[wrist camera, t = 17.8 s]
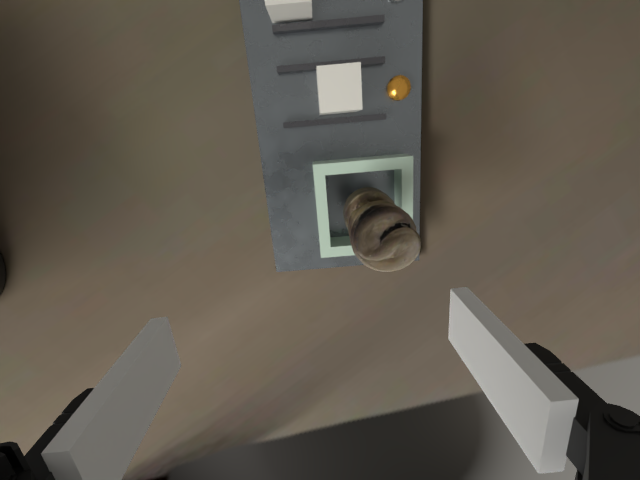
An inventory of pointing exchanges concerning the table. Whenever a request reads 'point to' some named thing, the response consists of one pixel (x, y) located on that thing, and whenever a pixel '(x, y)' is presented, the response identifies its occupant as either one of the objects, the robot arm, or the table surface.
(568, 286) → the table surface
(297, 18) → the block
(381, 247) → the light bulb
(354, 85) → the block
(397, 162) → the socket
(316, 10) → the panel
